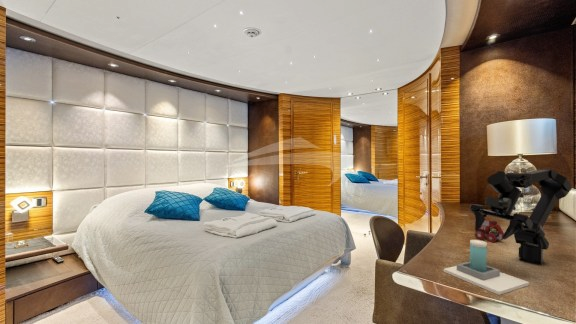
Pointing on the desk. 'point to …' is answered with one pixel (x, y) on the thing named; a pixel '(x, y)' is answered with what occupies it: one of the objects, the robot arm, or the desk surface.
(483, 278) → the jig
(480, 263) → the teal cylinder white cap
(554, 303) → the desk surface
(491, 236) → the toy fire truck
